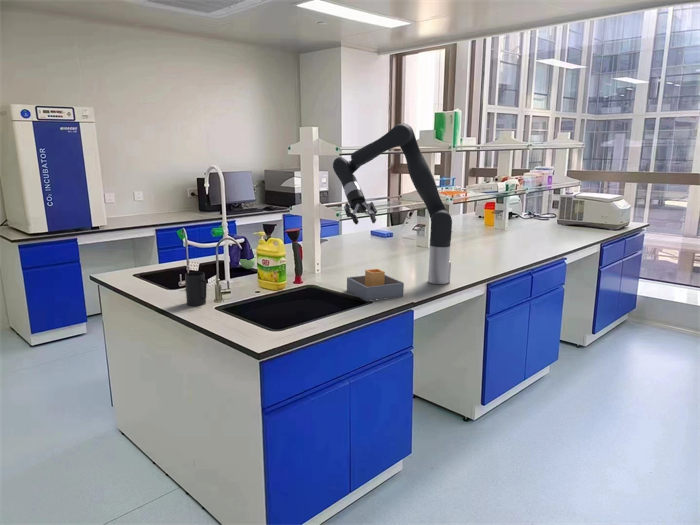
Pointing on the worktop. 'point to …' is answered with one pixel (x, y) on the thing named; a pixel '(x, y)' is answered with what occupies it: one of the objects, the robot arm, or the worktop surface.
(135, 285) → the worktop surface
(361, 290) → the big crate
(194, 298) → the black tapered tumbler
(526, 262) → the worktop surface
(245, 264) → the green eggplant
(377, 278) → the tan cardboard box
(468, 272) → the worktop surface
